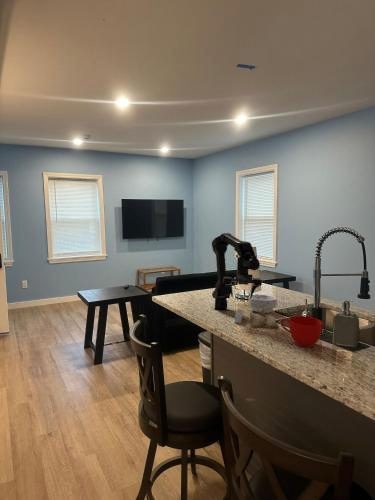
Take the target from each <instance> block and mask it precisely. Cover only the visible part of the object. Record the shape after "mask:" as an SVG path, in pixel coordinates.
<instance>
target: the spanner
mask: <svg viewBox="0 0 375 500" xmlns="http://www.w3.org/2000/svg"><path fill="white" fill-rule="evenodd" d="M243 313H244V310H243V309H236V311H235V313H234V324H239V325H240V324H242V321H243Z"/></svg>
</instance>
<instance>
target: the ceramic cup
mask: <svg viewBox="0 0 375 500" xmlns="http://www.w3.org/2000/svg"><path fill="white" fill-rule="evenodd" d="M284 321H286V322H287V323H288V325H289V328H287V327H286V326H285V324H284ZM280 324H281V327H282V329H284V331H286V332H288V333H289V334H290V336H291V338H292V340H293V341H294V343H295V345H297V346H299V345H300V346H299V347H302V346H304V347H303V348H311V347H310V346H312V347H313V346H314V345H316V343H317V342H318V341H319V340H320V338H321V335H322V332H323V325H324V324H323V321H322V320H320V319H318V318H315V317H311V316H306V315H305V316H304V315H294V316H291V317H290V318H289V319H288V318H282V319H281V321H280Z"/></svg>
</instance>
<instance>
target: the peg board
mask: <svg viewBox="0 0 375 500" xmlns="http://www.w3.org/2000/svg"><path fill="white" fill-rule="evenodd" d="M249 317H250V325H251V327H252V328H260V329H261V328H262V329H275V330H278V329H279V327H278V326H279V325H278V323H277V321H276V318H275V315H274V314H269V313H264V309H260V313H251V312H250V313H249Z"/></svg>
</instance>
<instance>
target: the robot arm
mask: <svg viewBox="0 0 375 500" xmlns="http://www.w3.org/2000/svg"><path fill="white" fill-rule="evenodd" d="M229 245H230V246H231V247H233V250H234V252H235V253H237V254H236V255H235V258H237V260H236V261H237V262H236V278H232V276H227V269H226V267H227V265H226V253H227V250H228V246H229ZM211 247H212V251H213V253H214V254H215V262H216V275H217V281H216V283H215V285H214V286H215V288H214V290H213V292H212V293H211V295H212V299H214V309H213V310H216V311H217V310H218V311H226V310H227V309H228V300H227V299H230V298H233V297H234V295H233V283H237V284H238V285H244V286H248V285H249V284H251V288H250V293H249V294H250V295H249V296H250V299H251V298H252V295H254V292H255V291H256V289H257V288H259V287H260V286H261V287H262V285H263V284H262V283H263V281H262V279H261V278H260V277H254V275H253V274H249V271H257V270H258V269H259V268H260V265H261V263H260V261H259V259H258V258H257V255H256V253H255V251H254V248H253V245H252V243H251V242H250V241H246V240H240V239H239V238H237V237H236V236H234V235H232V234H231V233H229V232H224V233H221V234H220V235H219V236H217V237H214V239H212V241H211Z"/></svg>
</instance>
